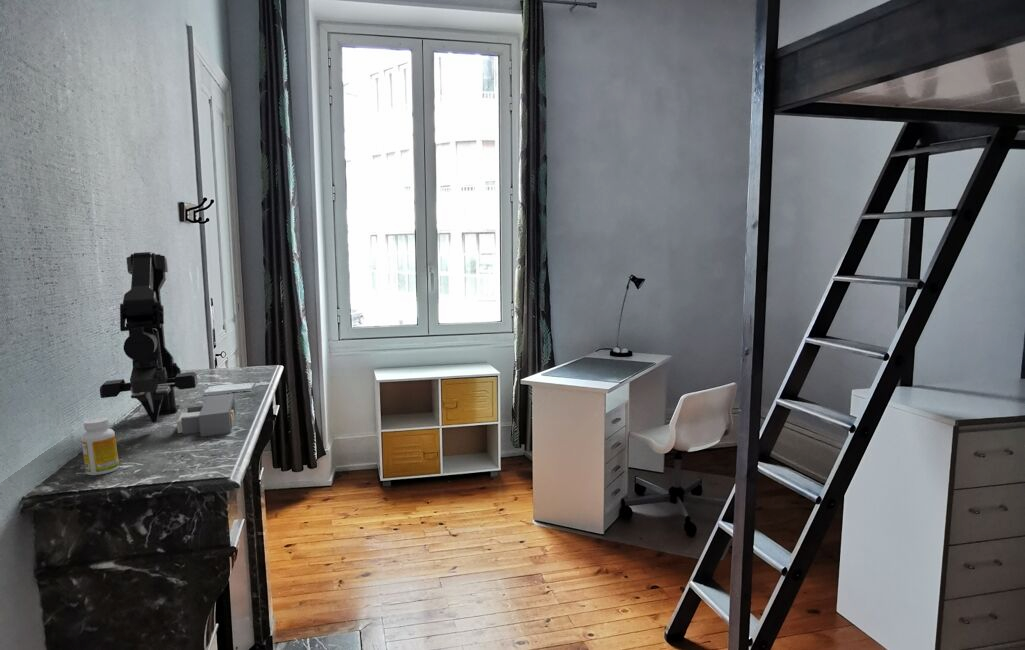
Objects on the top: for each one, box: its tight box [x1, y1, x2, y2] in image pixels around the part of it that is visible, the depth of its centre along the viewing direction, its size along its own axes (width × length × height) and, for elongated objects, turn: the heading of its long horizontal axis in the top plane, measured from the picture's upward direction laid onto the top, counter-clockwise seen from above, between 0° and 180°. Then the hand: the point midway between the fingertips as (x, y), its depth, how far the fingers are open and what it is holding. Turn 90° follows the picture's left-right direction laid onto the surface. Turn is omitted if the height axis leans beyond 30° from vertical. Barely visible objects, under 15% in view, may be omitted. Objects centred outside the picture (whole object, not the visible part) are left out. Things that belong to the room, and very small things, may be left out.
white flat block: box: [176, 411, 200, 434], centre depth 156 cm, size 8×10×2 cm
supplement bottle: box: [80, 417, 120, 476], centre depth 127 cm, size 5×5×10 cm
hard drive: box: [203, 382, 256, 397], centre depth 194 cm, size 2×8×12 cm
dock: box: [181, 393, 237, 437], centre depth 157 cm, size 20×10×5 cm, turn 19°
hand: (154, 422), depth 153 cm, fingers closed
